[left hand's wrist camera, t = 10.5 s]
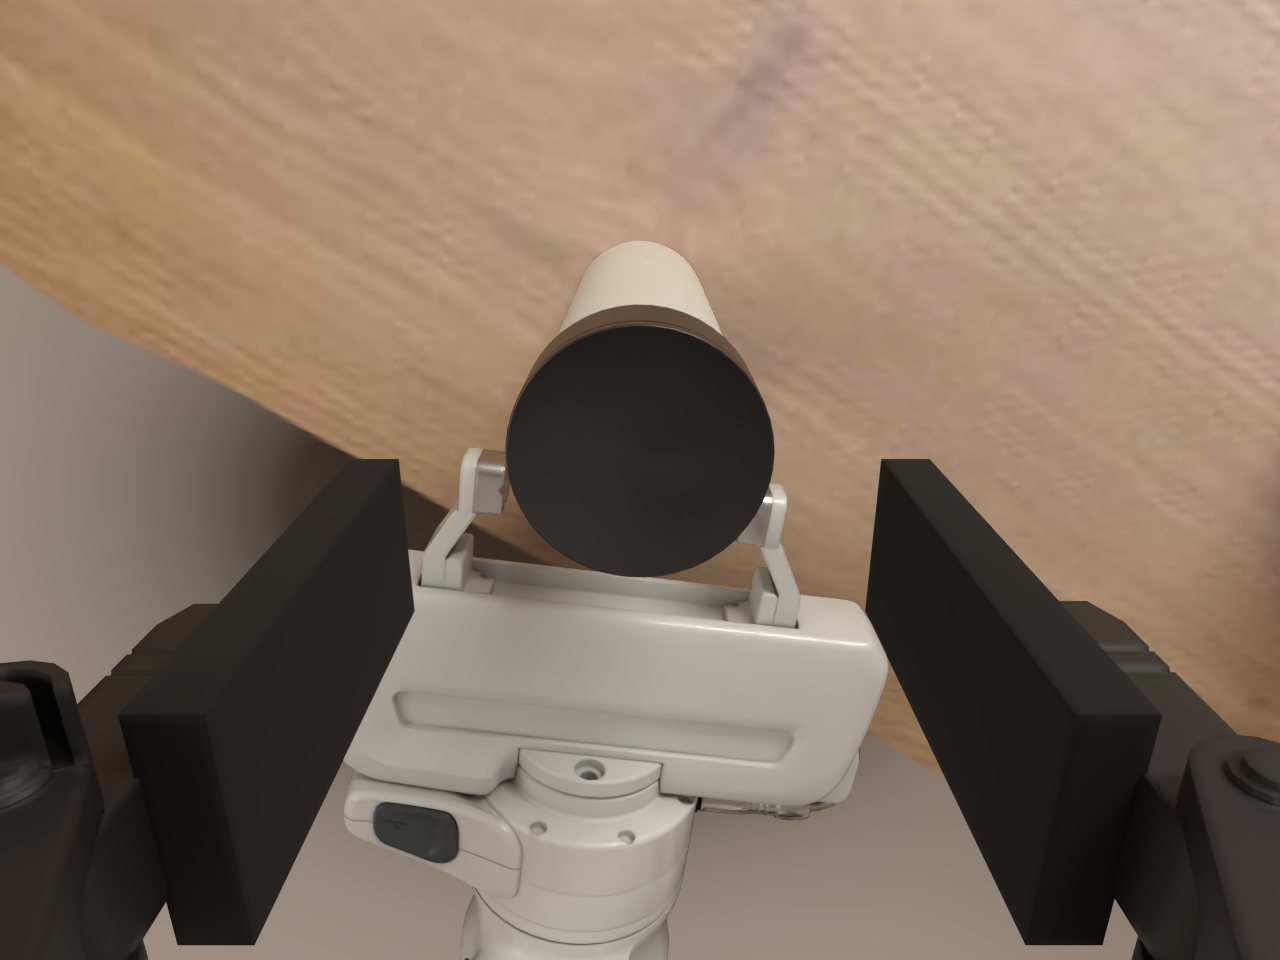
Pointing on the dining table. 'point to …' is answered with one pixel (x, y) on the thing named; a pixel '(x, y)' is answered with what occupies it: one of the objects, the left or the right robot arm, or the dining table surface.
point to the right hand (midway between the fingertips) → (626, 471)
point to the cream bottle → (640, 283)
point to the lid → (639, 442)
